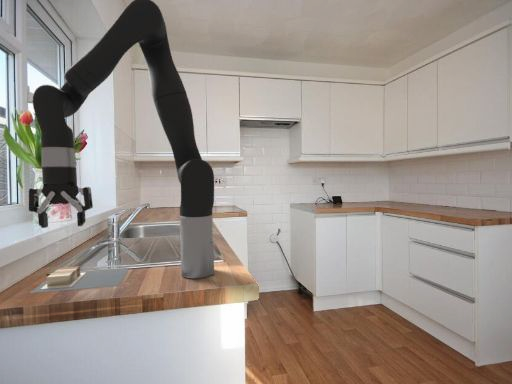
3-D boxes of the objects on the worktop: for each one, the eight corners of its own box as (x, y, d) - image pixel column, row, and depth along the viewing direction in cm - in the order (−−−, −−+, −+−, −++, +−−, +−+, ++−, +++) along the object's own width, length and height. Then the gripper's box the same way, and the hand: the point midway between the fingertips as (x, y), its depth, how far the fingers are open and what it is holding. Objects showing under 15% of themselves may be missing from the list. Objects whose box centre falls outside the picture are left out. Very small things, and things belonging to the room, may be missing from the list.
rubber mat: (129, 269, 90) (129, 267, 90) (118, 287, 75) (118, 285, 75) (56, 274, 85) (56, 272, 85) (29, 295, 71) (28, 292, 70)
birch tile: (69, 284, 76) (68, 275, 75) (47, 286, 74) (46, 277, 74) (80, 274, 83) (79, 266, 83) (60, 275, 82) (60, 267, 82)
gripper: (20, 165, 72) (24, 230, 73) (84, 164, 75) (87, 227, 76) (35, 166, 79) (39, 225, 80) (93, 165, 82) (96, 222, 83)
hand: (63, 226), depth 78 cm, fingers open, 8 cm apart
